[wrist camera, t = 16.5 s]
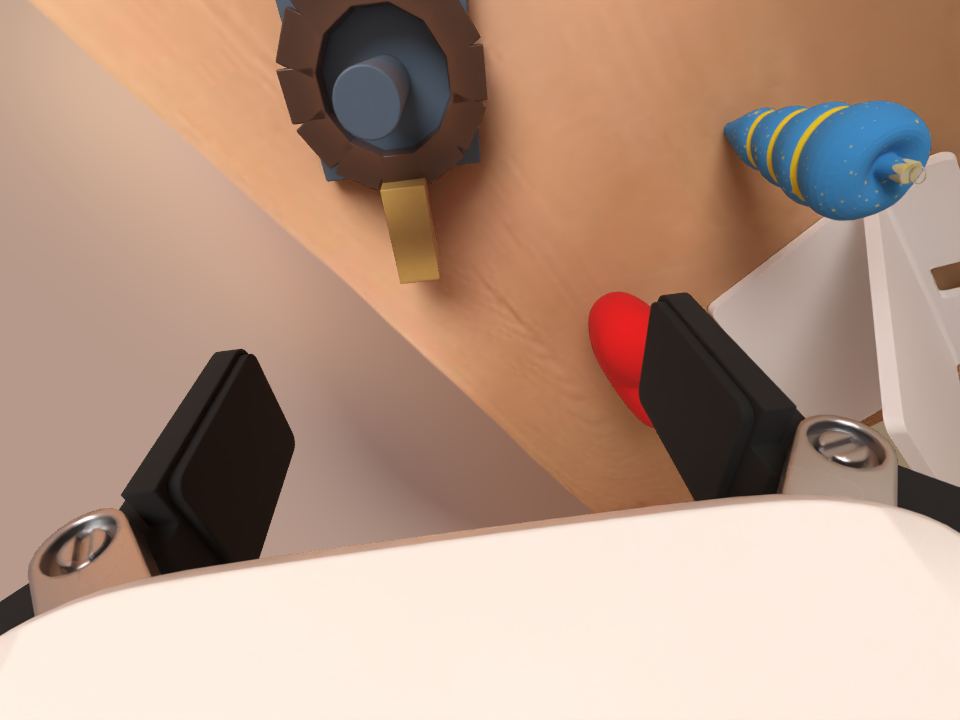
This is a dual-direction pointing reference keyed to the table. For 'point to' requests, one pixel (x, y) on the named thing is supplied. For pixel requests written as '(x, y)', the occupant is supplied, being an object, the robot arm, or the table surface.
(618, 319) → the heart
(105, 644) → the robot arm
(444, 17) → the walnut ring
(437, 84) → the peg rack
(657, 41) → the table surface
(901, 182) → the ornament
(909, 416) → the tablet stand
